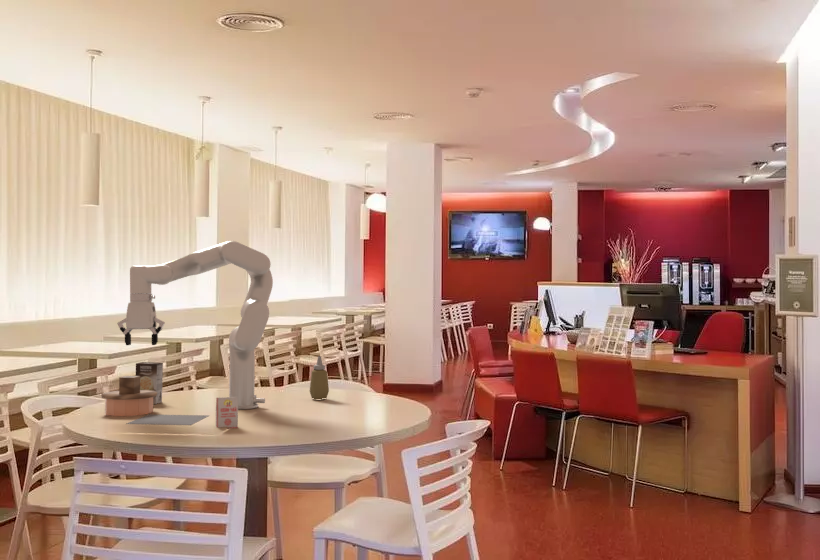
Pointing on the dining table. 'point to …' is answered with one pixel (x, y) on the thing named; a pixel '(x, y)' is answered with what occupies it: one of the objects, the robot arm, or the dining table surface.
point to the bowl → (128, 407)
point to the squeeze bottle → (319, 381)
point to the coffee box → (151, 378)
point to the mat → (169, 419)
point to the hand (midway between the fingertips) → (141, 344)
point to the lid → (129, 390)
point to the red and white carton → (227, 412)
